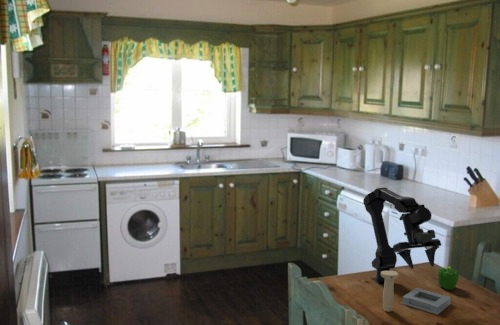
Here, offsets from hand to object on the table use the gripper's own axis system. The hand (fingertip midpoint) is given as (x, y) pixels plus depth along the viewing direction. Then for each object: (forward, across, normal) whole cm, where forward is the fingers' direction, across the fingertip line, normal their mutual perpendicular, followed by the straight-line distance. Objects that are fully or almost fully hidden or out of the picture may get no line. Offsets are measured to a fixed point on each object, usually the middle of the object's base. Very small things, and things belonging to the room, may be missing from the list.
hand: (422, 267), depth 196 cm
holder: (+13, +4, +9) cm, 16 cm away
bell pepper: (+7, +23, +19) cm, 31 cm away
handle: (+14, -14, +8) cm, 22 cm away
